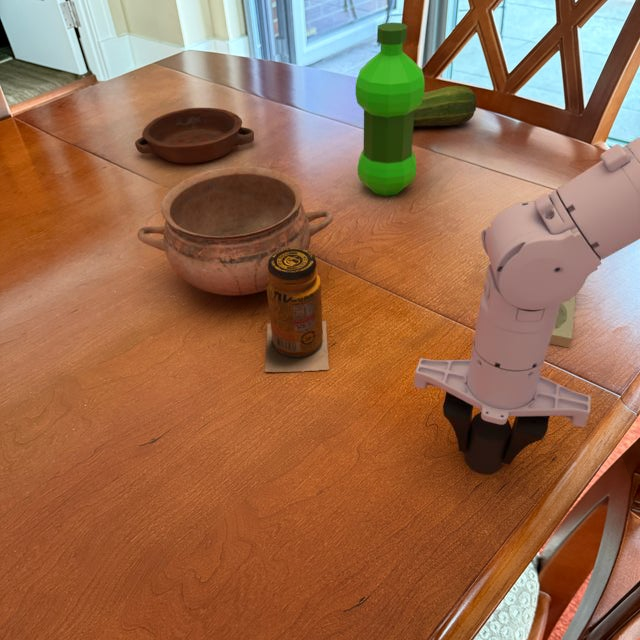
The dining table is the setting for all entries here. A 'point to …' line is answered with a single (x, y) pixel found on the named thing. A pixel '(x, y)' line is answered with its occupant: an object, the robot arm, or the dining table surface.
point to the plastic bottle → (389, 113)
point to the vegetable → (445, 107)
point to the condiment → (295, 314)
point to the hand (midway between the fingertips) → (485, 449)
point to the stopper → (487, 445)
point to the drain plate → (564, 324)
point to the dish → (194, 135)
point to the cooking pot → (232, 227)
